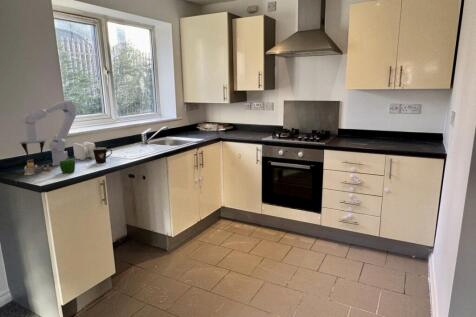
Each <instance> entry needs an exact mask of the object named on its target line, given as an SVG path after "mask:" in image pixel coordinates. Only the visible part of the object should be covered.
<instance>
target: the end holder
mask: <svg viewBox="0 0 476 317" xmlns="http://www.w3.org/2000/svg"><path fill="white" fill-rule="evenodd" d="M36 167H38V164H34V167H30V168H28V165H25V166H24V174H25V173H30V172H35V170H34V169H35V168H36Z"/></svg>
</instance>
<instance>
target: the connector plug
mask: <svg viewBox="0 0 476 317" xmlns="http://www.w3.org/2000/svg"><path fill="white" fill-rule="evenodd" d="M26 164H27V165H26V166H28V168H30V167H34V165H35V164H34V159H28V160H26Z"/></svg>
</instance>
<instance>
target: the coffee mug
mask: <svg viewBox="0 0 476 317" xmlns="http://www.w3.org/2000/svg"><path fill="white" fill-rule="evenodd" d="M108 151H110V154H108V155H107V152H108ZM93 152H94V156H95V158H94V160H95V163H96V164H97V165H98V164H106V162H107V159H108V158H109V157H110V156H111V155H112V154H113V150H112V149H111V148H110V149H109V148H108V149H107V147H99V146H98V147H95V148H93Z"/></svg>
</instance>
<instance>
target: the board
mask: <svg viewBox="0 0 476 317" xmlns="http://www.w3.org/2000/svg"><path fill="white" fill-rule="evenodd" d="M46 168H47V166H46V167H44V169H46ZM52 168H53V167H52V166H49V171H43V172H42V173H36V174H35V172H30V173H25V172H24V173H23V174H24V176H29V175H39V174H47V173H48V174H49V173H52Z"/></svg>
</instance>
